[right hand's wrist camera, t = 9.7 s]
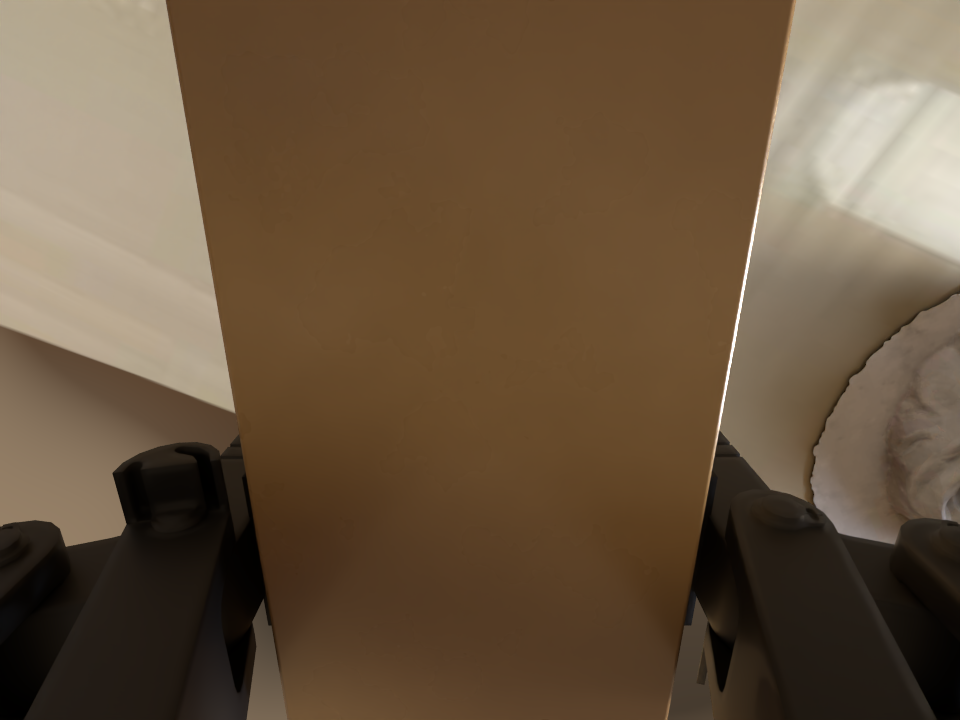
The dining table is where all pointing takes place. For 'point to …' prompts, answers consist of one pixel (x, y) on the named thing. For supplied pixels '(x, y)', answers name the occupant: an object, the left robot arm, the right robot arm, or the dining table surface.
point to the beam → (479, 330)
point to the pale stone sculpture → (896, 434)
